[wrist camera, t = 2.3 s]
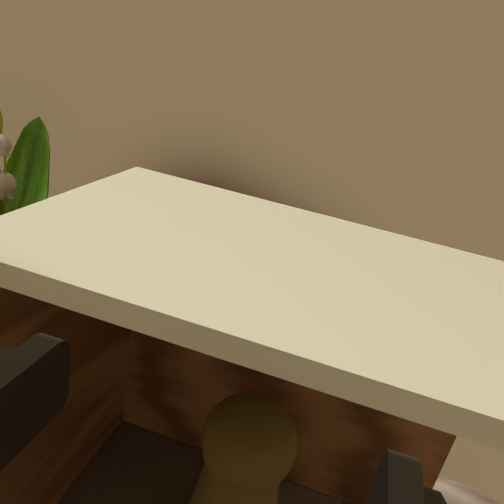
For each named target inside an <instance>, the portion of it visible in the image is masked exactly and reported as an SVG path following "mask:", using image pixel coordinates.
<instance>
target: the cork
mask: <svg viewBox="0 0 504 504" xmlns="http://www.w3.org/2000/svg"><path fill="white" fill-rule="evenodd" d="M201 446H202V452H203V458H204V462H205V463H204V466H203V468H202V471H201V474H200V476H199V479H198V482H197V484H196V487H195V489H194V492H193V495H192V497H191V500H190V503H189V504H277V499H278V489H279V483H280V482H281V481H282V480H283V479H284V478H285V477H286V476H287V474H288V473H289V472H290V470H291V468H292V466H293V463H294V461H295V458H296V455H297V452H298V437H297V430H296V428H295V425H294V423H293V420H292V418H291V416H290V415H289V413H288V412H287V411H286V410H285V409H284V408H283V407H282V406H281V405H279V404H278V403H277V402H275V401H274V400H271V399H269V398H267V397H264V396H261V395H256V394H251V393H244V394H236V395H232V396H229V397H227V398H225V399H224V400H222V401H220V402H219V403H218V404H217V405H215V406H214V408H213V409H212V410H211V412H210V413H209V414H208V416H207V418H206V420H205V422H204V426H203V431H202V436H201Z"/></svg>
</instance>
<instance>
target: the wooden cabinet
mask: <svg viewBox="0 0 504 504" xmlns="http://www.w3.org/2000/svg"><path fill="white" fill-rule="evenodd" d="M37 333H44V334H47V335H50V336H53V337H56V338H59V339H62V340H65V341H67V342H68V343H69V344H70V376H69V393H68V397H67V400H66V402H65V404H64V406H63V408H62V409H61V411H60V412H59V413H58V415H57V416H56V417H55V418H54V419H53V420H52V421H51V422H50V423H49V424H48V425H47V426H46V427H45V428H44V429H43V430H42V431H41V432H40V433H39V434H38V435H37V436H36V437H35V438H34V439H33V440H32V441H31V442H30V443H29V444H28V445H27V446H26V447H25V448H24V449H23V450H22V451H21V452H20V453H19V454H18V455H17V456H16V457H15V458H14V459H13V460H12V461H11V462H10V463H9V464H8V465H7V466H6V467H5V468H4V469H3V470H2V471H1V472H0V504H58V502H59V501H60V500H61V498H62V497H63V496H64V495H65V493H66V492H67V491H68V489H69V488H70V487H71V486H72V484H73V483H74V482H75V480H76V479H77V478H78V477H79V475H80V474H81V473H82V471H83V470H84V469H85V468H86V466H87V465H88V464H89V462H90V461H91V460H92V459H93V457H94V456H95V455H96V453H97V452H98V451H99V450H100V448H101V447H102V446H103V444H104V443H105V442H106V441H107V439H108V438H109V437H110V435H111V434H112V433H113V432H114V430H115V429H116V428H117V426H118V425H119V424H120V423H121V421H122V420H124V421H126V422H129V423H132V424H135V425H137V426H140V427H143V428H146V429H148V430H151V431H154V432H157V433H159V434H162V435H165V436H167V437H170V438H173V439H176V440H178V441H181V442H184V443H187V444H189V445H192V446H195V447H198V448H200V449H202V446H201V436H202V431H203V426H204V422H205V420H206V418H207V416H208V414H209V413H210V412H211V410H212V409H213V408H214V406H215V405H217V404H218V403H219V402H220V401H222V400H224V399H225V398H227V397H229V396H232V395H236V394H244V393H251V394H256V395H261V396H264V397H267V398H269V399H271V400H274V401H275V402H277V403H278V404H279V405H281V406H282V407H283V408H284V409H285V410H286V411H287V412H288V413H289V415H290V416H291V418H292V420H293V423H294V425H295V428H296V430H297V437H298V452H297V455H296V458H295V461H294V463H293V466H292V468H291V470H290V472H289V473H288V474H287V476H286V477H285V478H284V479H285V480H288V481H291V482H294V483H296V484H299V485H302V486H305V487H307V488H310V489H313V490H316V491H318V492H321V493H324V494H326V495H329V496H332V497H335V498H337V499H340V500H343V501H346V502H348V503H351V504H365V501H366V498H367V495H368V492H369V489H370V487H371V484H372V481H373V478H374V476H375V473H376V470H377V468H378V465H379V462H380V459H381V457H382V454H383V452H384V450H385V449H386V448H388V449H391V450H394V451H397V452H400V453H403V454H406V455H409V456H412V457H415V458H418V459H420V461H421V466H422V477H423V486H424V487H426V488H429V489H432V488H433V486H434V484H435V482H436V480H437V478H438V475H439V473H440V471H441V469H442V467H443V465H444V462H445V460H446V458H447V456H448V454H449V452H450V449H451V447H452V445H453V443H454V441H455V439H456V436H459V437H462V438H465V439H468V440H471V441H474V442H477V443H480V444H483V445H486V446H490V447H492V448H495V449H499V450H502V451H504V261H500V260H496V259H492V258H489V257H485V256H481V255H477V254H473V253H469V252H465V251H461V250H457V249H454V248H450V247H446V246H442V245H438V244H434V243H430V242H427V241H423V240H419V239H415V238H411V237H407V236H403V235H400V234H395V233H391V232H388V231H384V230H380V229H376V228H372V227H369V226H364V225H360V224H357V223H353V222H349V221H345V220H341V219H338V218H334V217H329V216H326V215H322V214H318V213H314V212H310V211H306V210H303V209H299V208H295V207H291V206H287V205H283V204H279V203H275V202H272V201H267V200H264V199H260V198H256V197H252V196H248V195H244V194H241V193H236V192H233V191H229V190H225V189H221V188H217V187H213V186H210V185H206V184H202V183H198V182H194V181H190V180H186V179H182V178H179V177H175V176H171V175H167V174H163V173H159V172H155V171H151V170H147V169H144V168H140V167H135V168H132V169H129V170H126V171H123V172H121V173H118V174H115V175H112V176H109V177H107V178H104V179H101V180H98V181H95V182H93V183H90V184H87V185H84V186H81V187H79V188H76V189H73V190H70V191H67V192H65V193H62V194H59V195H57V196H53V197H51V198H48V199H45V200H42V201H39V202H37V203H34V204H31V205H28V206H25V207H23V208H20V209H17V210H14V211H11V212H9V213H6V214H3V215H0V350H1V349H4V348H7V347H10V346H12V345H14V346H17V347H18V346H19V345H21V344H22V343H24V342H25V341H26V340H28V339H29V338H31V337H32V336H33V335H35V334H37Z"/></svg>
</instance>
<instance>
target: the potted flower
mask: <svg viewBox="0 0 504 504" xmlns="http://www.w3.org/2000/svg"><path fill="white" fill-rule="evenodd" d="M2 121H3V120H2V114H1V112H0V156H2V154H3V158H4V169H3V171H2V172H1V171H0V215H3V214H6V213H9V212H11V211H14V210H17V209H20V208H23V207H25V206H28V205H31V204H34V203H37V202H39V201H42V200H45V199H47V196H48V188H49V187H48V186H49V163H50V162H49V161H50V146H49V137H48V132H47V130H46V127H45V125H44V124H43V122H42V121H41V119H40V117H37V118H36V119H34V120H32V121H30V122H29V123H28V124H27V125H26V126H25V127H24V128H23V130H22V132H21V134H20V136H19V138H18V140H17V142H16V145H15V146H14V148H13V150H12V153H11V155H10V150H11V148H12V143H11V141H10V140H9V138H8V137H6V136H4V135H2V126H3V122H2ZM6 157H9V159H8V161H7V163H6Z"/></svg>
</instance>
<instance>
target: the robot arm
mask: <svg viewBox="0 0 504 504" xmlns="http://www.w3.org/2000/svg"><path fill="white" fill-rule="evenodd" d="M69 376H70V344H69V343H68V342H67V341H65V340H62V339H59V338H56V337H53V336H50V335H47V334H44V333H37V334H35V335H33V336H32V337H31V338H29V339H28V340H26V341H25V342H24V343H22V344H21V345H19V346H18V347H17V346H14V345H12V346H10V347H7V348H4V349H1V350H0V472H1V471H2V470H3V469H4V468H5V467H6V466H7V465H8V464H9V463H10V462H11V461H12V460H13V459H14V458H15V457H16V456H17V455H18V454H19V453H20V452H21V451H22V450H23V449H24V448H25V447H26V446H27V445H28V444H29V443H30V442H31V441H32V440H33V439H34V438H35V437H36V436H37V435H38V434H39V433H40V432H41V431H42V430H43V429H44V428H45V427H46V426H47V425H48V424H49V423H50V422H51V421H52V420H53V419H54V418H55V417H56V416H57V415H58V413H59V412H60V411H61V409H62V408H63V406H64V404H65V402H66V400H67V397H68V393H69ZM365 504H447V503H446V501H445V499H444V498H443V496H442V494H441V492H438V491H435V490H432V489H429V488H426V487H424V486H423V477H422V466H421V461H420V459H418V458H415V457H412V456H409V455H406V454H403V453H400V452H397V451H394V450H391V449H388V448H386V449H385V450H384V452H383V454H382V457H381V459H380V462H379V465H378V468H377V470H376V473H375V476H374V478H373V481H372V484H371V487H370V489H369V492H368V495H367V498H366V501H365Z"/></svg>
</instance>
